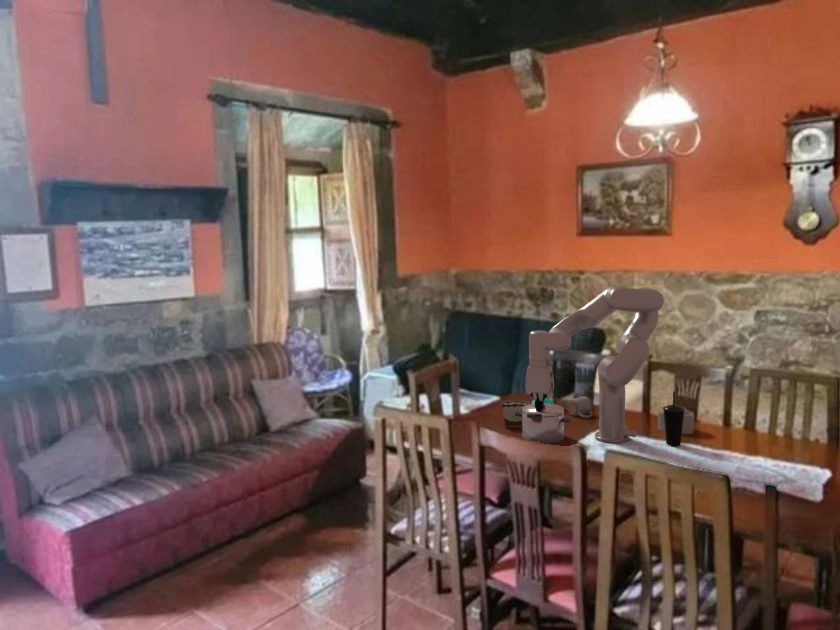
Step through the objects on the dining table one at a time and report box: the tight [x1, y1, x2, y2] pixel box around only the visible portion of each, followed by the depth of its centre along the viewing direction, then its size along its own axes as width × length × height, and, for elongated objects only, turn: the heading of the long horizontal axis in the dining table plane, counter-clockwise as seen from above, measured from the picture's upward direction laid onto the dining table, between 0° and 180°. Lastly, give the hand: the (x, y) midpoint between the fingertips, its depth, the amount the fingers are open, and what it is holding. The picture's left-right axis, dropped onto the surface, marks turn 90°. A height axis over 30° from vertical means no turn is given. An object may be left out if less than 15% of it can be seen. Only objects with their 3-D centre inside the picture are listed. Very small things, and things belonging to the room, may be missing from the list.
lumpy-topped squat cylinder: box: [657, 406, 695, 435], centre depth 261 cm, size 10×13×9 cm
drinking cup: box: [662, 390, 686, 447], centre depth 242 cm, size 8×8×20 cm
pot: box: [515, 412, 573, 444], centre depth 256 cm, size 22×16×10 cm
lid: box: [522, 403, 565, 419], centre depth 255 cm, size 16×18×3 cm
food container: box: [500, 399, 530, 428], centre depth 274 cm, size 12×6×10 cm, turn 84°
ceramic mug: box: [566, 395, 593, 419], centre depth 285 cm, size 11×8×8 cm
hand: (539, 410), depth 253 cm, fingers closed
